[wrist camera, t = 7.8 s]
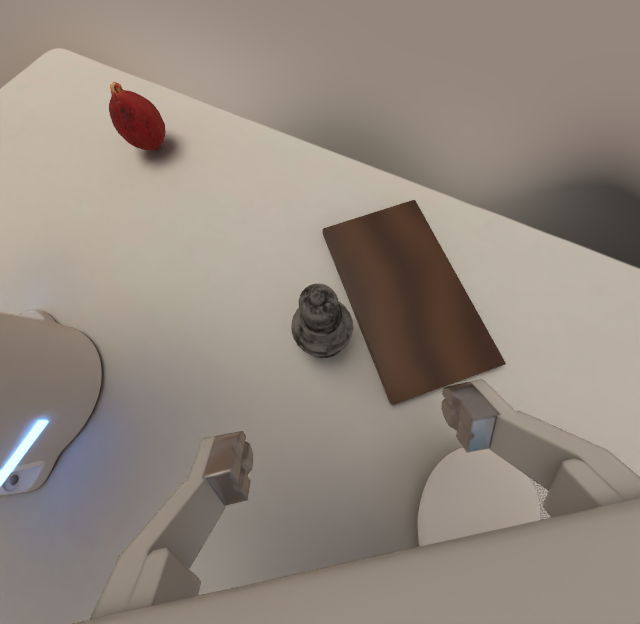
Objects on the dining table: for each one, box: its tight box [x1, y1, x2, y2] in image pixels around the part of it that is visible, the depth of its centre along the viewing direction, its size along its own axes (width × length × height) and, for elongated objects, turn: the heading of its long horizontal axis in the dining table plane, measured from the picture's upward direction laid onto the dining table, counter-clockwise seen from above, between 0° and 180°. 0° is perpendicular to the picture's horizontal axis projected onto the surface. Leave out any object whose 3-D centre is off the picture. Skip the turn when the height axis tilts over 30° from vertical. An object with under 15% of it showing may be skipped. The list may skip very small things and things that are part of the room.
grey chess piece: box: [292, 284, 353, 358], centre depth 22 cm, size 6×6×12 cm
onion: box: [109, 82, 165, 150], centre depth 33 cm, size 6×6×8 cm
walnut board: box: [323, 200, 506, 405], centre depth 28 cm, size 12×21×1 cm, turn 19°
